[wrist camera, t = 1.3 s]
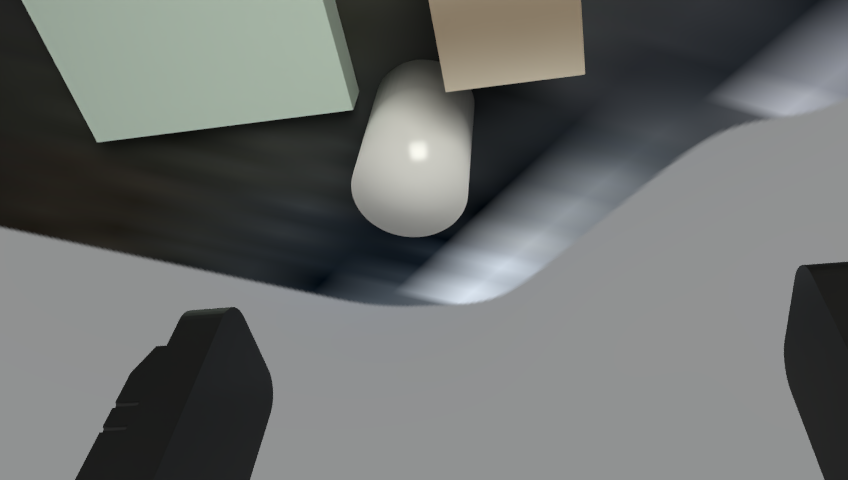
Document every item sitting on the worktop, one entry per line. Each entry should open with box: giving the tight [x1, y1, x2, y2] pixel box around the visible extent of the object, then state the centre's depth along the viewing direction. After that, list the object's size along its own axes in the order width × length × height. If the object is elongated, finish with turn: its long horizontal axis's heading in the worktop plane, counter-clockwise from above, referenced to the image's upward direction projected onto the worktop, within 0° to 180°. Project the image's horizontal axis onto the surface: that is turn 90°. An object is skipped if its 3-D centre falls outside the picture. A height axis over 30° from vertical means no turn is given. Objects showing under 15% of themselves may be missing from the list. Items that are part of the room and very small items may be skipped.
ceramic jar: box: [351, 59, 474, 237], centre depth 27 cm, size 4×4×6 cm
